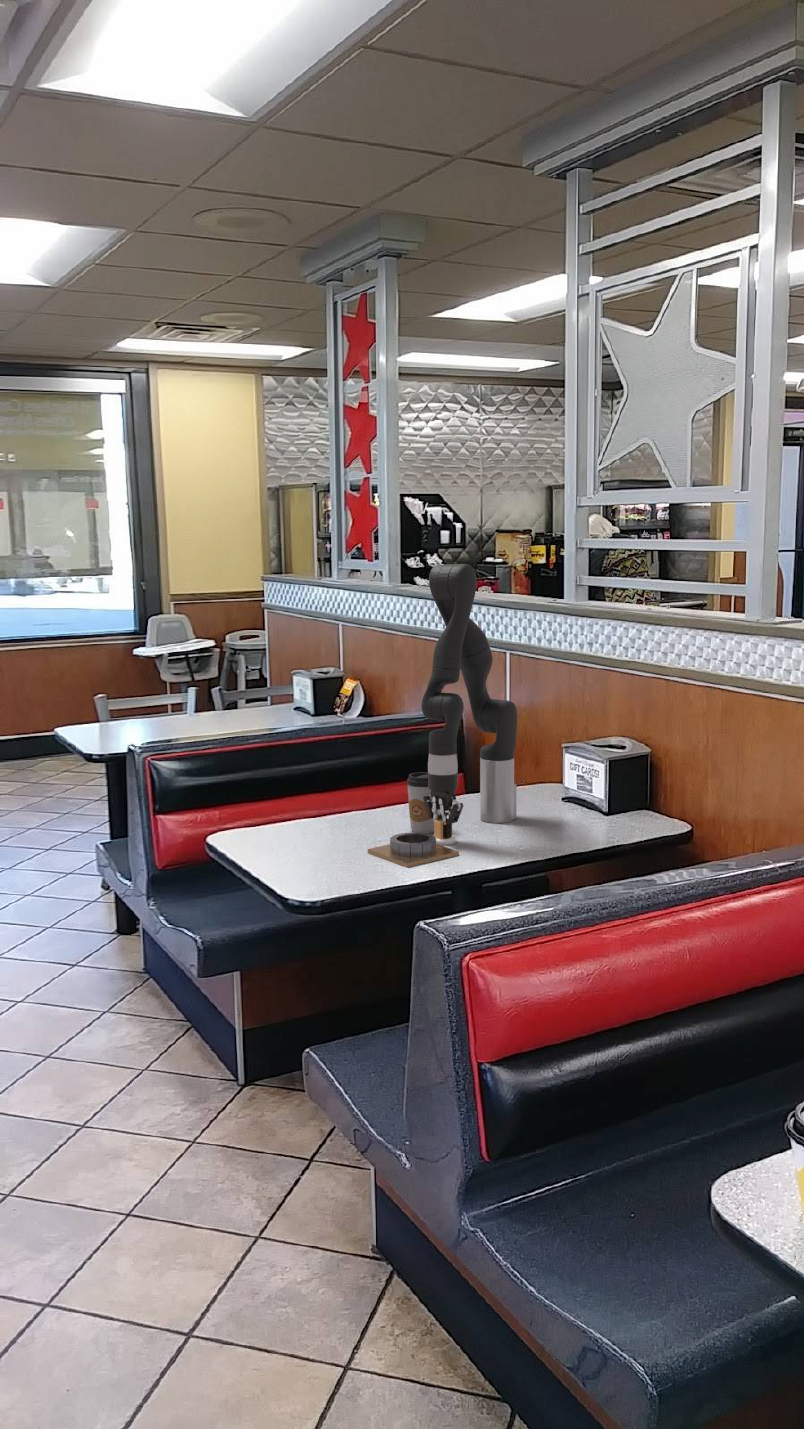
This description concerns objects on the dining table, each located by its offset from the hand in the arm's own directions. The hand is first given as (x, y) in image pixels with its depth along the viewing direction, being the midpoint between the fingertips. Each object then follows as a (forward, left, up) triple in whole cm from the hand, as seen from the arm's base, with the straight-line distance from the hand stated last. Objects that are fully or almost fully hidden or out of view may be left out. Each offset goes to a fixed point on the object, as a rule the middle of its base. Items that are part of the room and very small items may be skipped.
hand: (443, 836), depth 285 cm
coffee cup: (-3, -12, -1) cm, 12 cm away
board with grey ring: (+13, +4, -1) cm, 14 cm away
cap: (0, 0, -1) cm, 1 cm away
